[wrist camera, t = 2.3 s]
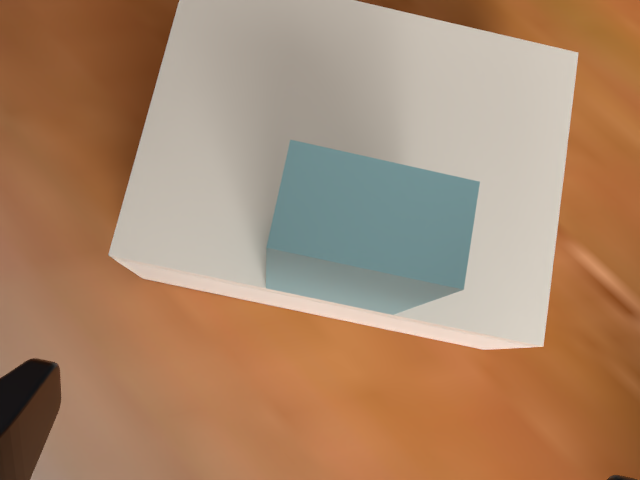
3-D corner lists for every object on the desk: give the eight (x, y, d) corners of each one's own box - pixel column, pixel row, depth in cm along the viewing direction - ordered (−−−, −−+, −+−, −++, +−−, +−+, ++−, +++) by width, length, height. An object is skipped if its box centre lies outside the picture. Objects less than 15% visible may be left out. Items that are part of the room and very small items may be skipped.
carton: (483, 349, 21) (533, 347, 17) (142, 278, 21) (114, 259, 17) (516, 113, 23) (568, 63, 19) (204, 42, 22) (192, -25, 19)
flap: (533, 346, 17) (695, 339, 11) (113, 258, 17) (17, 194, 10) (569, 62, 19) (724, -91, 13) (192, -26, 18) (153, -233, 12)
